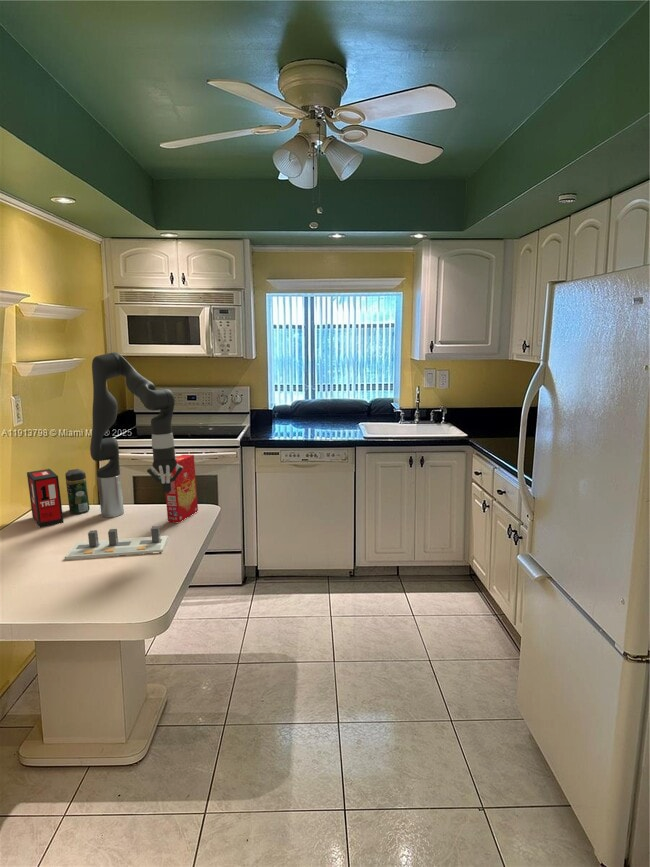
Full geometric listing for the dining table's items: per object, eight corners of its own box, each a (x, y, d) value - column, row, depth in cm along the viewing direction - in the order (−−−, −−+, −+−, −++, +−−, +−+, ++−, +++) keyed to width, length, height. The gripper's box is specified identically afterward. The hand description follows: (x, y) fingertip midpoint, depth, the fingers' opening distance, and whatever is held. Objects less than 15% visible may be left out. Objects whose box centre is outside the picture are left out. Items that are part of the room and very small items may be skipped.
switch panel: (77, 545, 210) (76, 540, 210) (168, 538, 214) (168, 534, 214) (65, 560, 197) (64, 555, 196) (162, 552, 200) (162, 548, 200)
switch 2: (153, 539, 209) (152, 526, 208) (160, 538, 210) (159, 525, 209) (152, 542, 206) (151, 529, 205) (158, 541, 207) (157, 528, 206)
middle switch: (111, 542, 208) (110, 529, 207) (118, 541, 208) (116, 528, 207) (109, 545, 205) (107, 532, 204) (116, 544, 205) (114, 531, 204)
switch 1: (91, 543, 207) (90, 530, 206) (98, 543, 207) (97, 530, 206) (89, 546, 204) (87, 533, 203) (96, 546, 204) (94, 533, 203)
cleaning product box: (63, 522, 236) (57, 476, 232) (40, 527, 231) (34, 479, 227) (55, 513, 249) (49, 468, 245) (32, 517, 244) (26, 472, 240)
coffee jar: (67, 510, 253) (62, 469, 249) (86, 506, 257) (82, 466, 254) (72, 515, 245) (67, 473, 241) (91, 511, 249) (87, 470, 246)
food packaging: (179, 523, 231) (174, 463, 226) (167, 522, 233) (162, 462, 228) (198, 511, 245) (193, 455, 240) (187, 510, 246) (183, 454, 242)
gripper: (183, 442, 206) (187, 488, 209) (146, 444, 205) (150, 491, 208) (180, 446, 199) (184, 494, 202) (141, 448, 197) (146, 497, 200)
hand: (167, 492), depth 205 cm, fingers closed
